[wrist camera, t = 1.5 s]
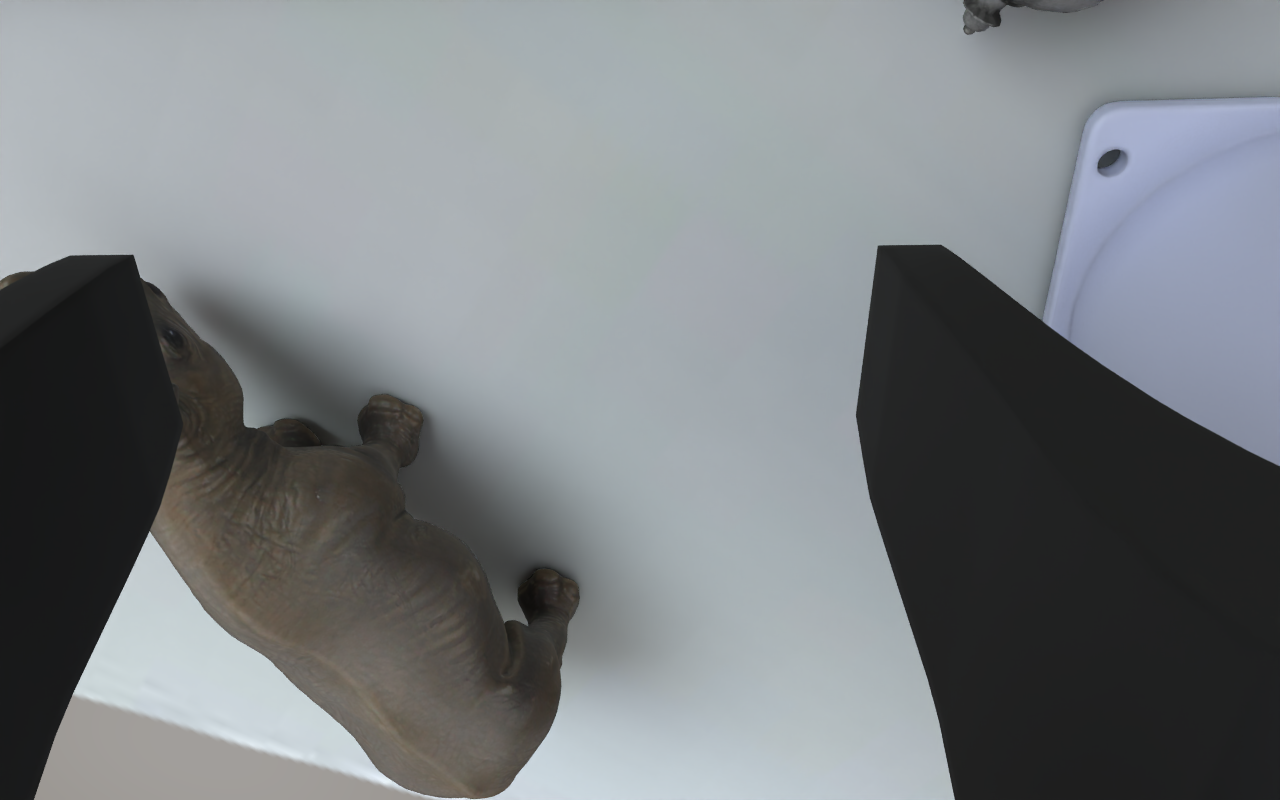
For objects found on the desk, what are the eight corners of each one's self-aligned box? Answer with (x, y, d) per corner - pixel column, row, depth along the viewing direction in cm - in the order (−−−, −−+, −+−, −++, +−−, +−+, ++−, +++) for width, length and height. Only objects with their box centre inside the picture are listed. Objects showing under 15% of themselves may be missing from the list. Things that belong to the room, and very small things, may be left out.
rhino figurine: (163, 125, 20) (22, 307, 16) (614, 587, 27) (613, 815, 22) (7, 244, 22) (-168, 445, 17) (475, 656, 28) (446, 885, 24)
